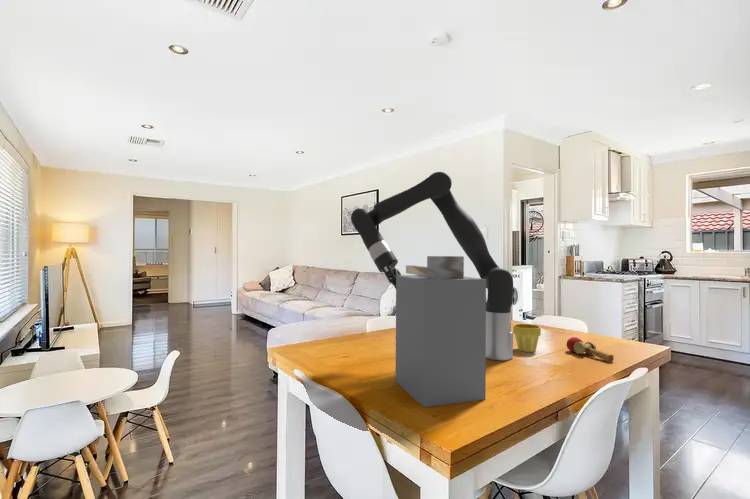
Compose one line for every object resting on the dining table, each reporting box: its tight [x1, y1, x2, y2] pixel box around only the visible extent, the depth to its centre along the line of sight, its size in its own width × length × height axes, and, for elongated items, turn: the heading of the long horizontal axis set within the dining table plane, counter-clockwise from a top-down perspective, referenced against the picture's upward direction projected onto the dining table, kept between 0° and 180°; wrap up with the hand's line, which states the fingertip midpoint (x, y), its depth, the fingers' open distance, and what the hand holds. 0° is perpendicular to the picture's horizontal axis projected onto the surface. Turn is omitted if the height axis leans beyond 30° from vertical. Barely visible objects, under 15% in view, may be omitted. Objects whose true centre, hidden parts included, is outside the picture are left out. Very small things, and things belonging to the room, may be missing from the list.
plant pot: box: [512, 323, 542, 353], centre depth 154 cm, size 10×10×10 cm
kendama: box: [566, 336, 614, 363], centre depth 146 cm, size 8×6×18 cm
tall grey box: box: [395, 274, 487, 408], centre depth 109 cm, size 18×20×32 cm
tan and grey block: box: [405, 255, 465, 279], centre depth 116 cm, size 8×28×6 cm, turn 18°
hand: (405, 294), depth 132 cm, fingers open, 8 cm apart
